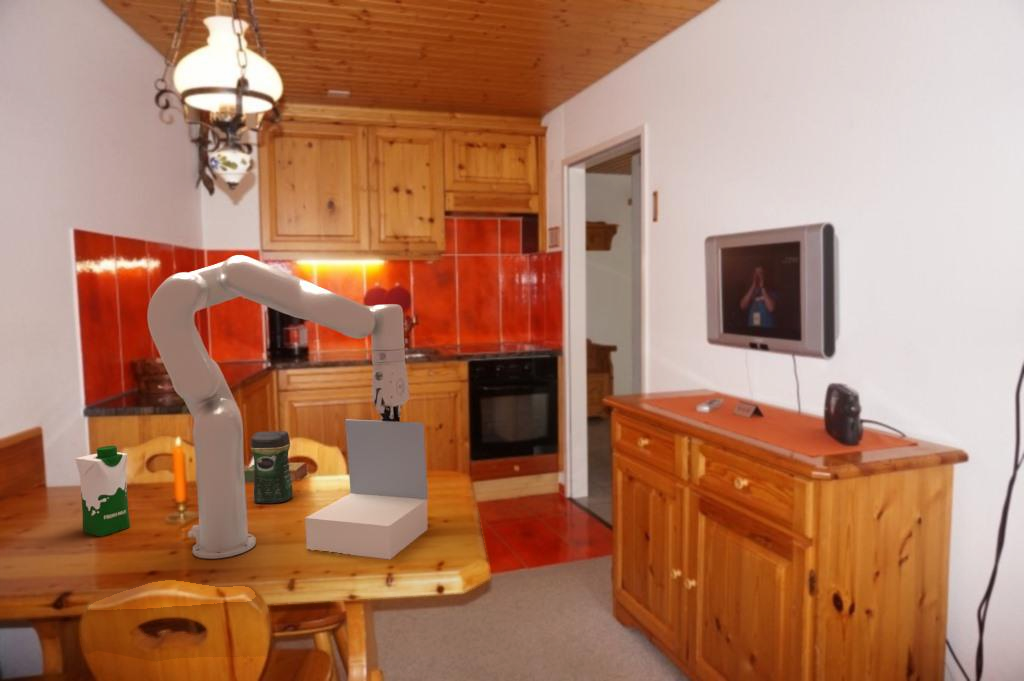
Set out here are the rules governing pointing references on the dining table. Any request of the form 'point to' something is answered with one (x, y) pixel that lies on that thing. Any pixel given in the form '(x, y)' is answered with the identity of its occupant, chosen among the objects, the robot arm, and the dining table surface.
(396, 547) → the box body
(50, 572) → the dining table surface
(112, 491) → the milk carton
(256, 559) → the dining table surface
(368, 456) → the lid flap
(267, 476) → the coffee jar
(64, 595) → the dining table surface
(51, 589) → the dining table surface
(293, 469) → the carton
